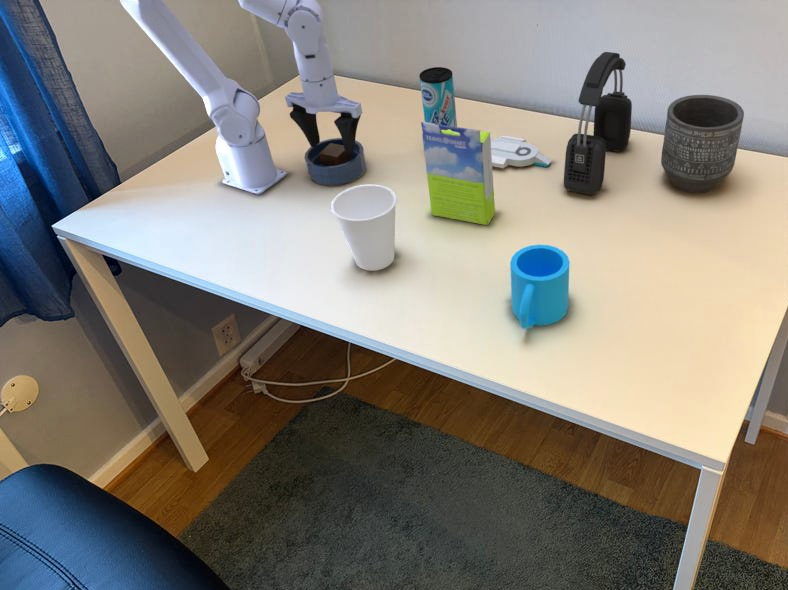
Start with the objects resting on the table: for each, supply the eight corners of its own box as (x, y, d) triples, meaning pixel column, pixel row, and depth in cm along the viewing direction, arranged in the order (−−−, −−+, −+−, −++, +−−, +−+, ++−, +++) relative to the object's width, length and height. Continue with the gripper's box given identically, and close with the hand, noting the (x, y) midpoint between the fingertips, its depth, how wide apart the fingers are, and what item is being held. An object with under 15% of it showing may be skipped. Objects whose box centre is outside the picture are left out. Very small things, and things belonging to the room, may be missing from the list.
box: (496, 213, 125) (491, 118, 112) (487, 227, 122) (481, 131, 110) (440, 203, 128) (429, 110, 115) (430, 216, 125) (417, 122, 113)
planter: (724, 204, 122) (738, 133, 113) (651, 193, 126) (660, 123, 117) (735, 167, 130) (749, 98, 121) (666, 158, 134) (675, 90, 125)
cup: (396, 282, 113) (386, 222, 105) (336, 277, 115) (321, 218, 107) (413, 244, 120) (404, 185, 112) (356, 240, 122) (343, 182, 114)
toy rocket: (460, 162, 137) (459, 151, 136) (484, 138, 143) (483, 127, 141) (538, 179, 131) (538, 167, 130) (559, 153, 137) (560, 142, 136)
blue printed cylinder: (422, 152, 141) (412, 76, 130) (442, 139, 144) (435, 64, 133) (444, 161, 138) (436, 84, 127) (465, 148, 141) (459, 72, 130)
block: (323, 172, 137) (318, 153, 134) (334, 162, 139) (330, 142, 136) (341, 176, 135) (337, 156, 132) (352, 165, 138) (348, 146, 135)
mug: (522, 284, 111) (520, 240, 105) (574, 294, 108) (576, 249, 103) (495, 336, 103) (492, 292, 97) (551, 348, 101) (552, 303, 95)
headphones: (594, 202, 125) (601, 89, 111) (559, 195, 127) (562, 83, 113) (632, 140, 139) (642, 33, 125) (600, 135, 141) (606, 29, 127)
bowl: (297, 179, 137) (292, 159, 134) (334, 152, 143) (329, 133, 140) (342, 192, 132) (338, 173, 129) (378, 164, 139) (374, 145, 136)
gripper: (268, 79, 124) (287, 151, 134) (340, 90, 120) (355, 164, 129) (291, 62, 129) (309, 133, 138) (362, 72, 124) (375, 145, 134)
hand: (332, 147), depth 134 cm, fingers open, 7 cm apart
